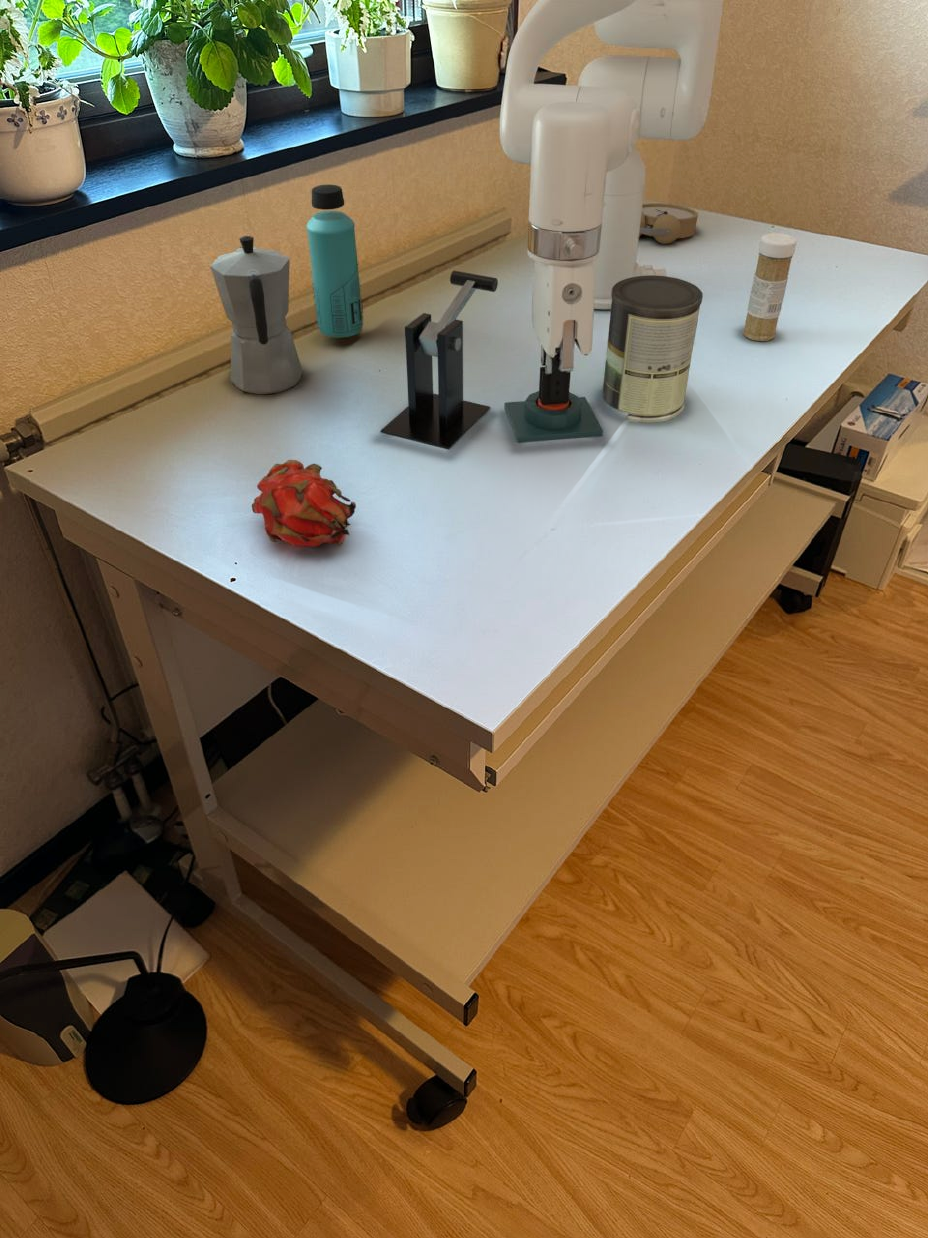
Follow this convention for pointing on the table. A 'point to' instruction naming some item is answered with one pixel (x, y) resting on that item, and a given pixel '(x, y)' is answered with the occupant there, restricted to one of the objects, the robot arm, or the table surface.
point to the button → (553, 406)
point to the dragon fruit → (302, 506)
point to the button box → (552, 420)
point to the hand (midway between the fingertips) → (553, 400)
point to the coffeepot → (258, 318)
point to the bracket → (428, 412)
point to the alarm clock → (667, 222)
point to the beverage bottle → (334, 265)
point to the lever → (454, 307)
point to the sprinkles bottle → (769, 286)
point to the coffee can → (650, 346)
